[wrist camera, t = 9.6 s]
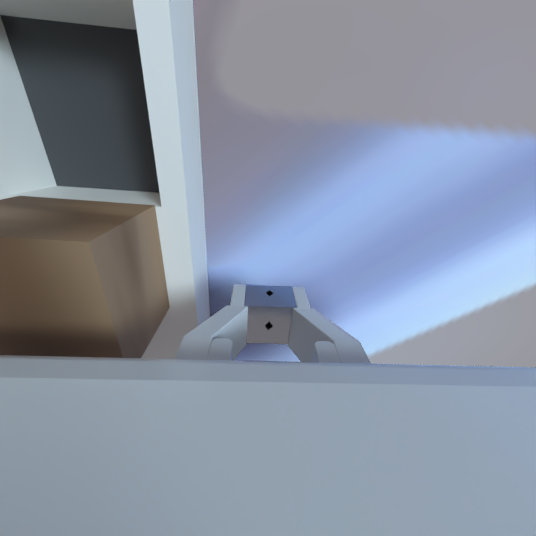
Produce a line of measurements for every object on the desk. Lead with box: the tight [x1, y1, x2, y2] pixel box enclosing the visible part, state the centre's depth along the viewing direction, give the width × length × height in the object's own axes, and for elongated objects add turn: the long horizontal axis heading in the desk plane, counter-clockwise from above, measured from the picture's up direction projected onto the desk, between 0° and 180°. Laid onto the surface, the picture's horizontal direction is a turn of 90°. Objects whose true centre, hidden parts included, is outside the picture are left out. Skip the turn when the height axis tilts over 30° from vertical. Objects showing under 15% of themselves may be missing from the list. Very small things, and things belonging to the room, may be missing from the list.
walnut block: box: [0, 196, 170, 358], centre depth 8 cm, size 5×5×4 cm
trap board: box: [0, 0, 210, 359], centre depth 10 cm, size 15×26×4 cm, turn 176°
